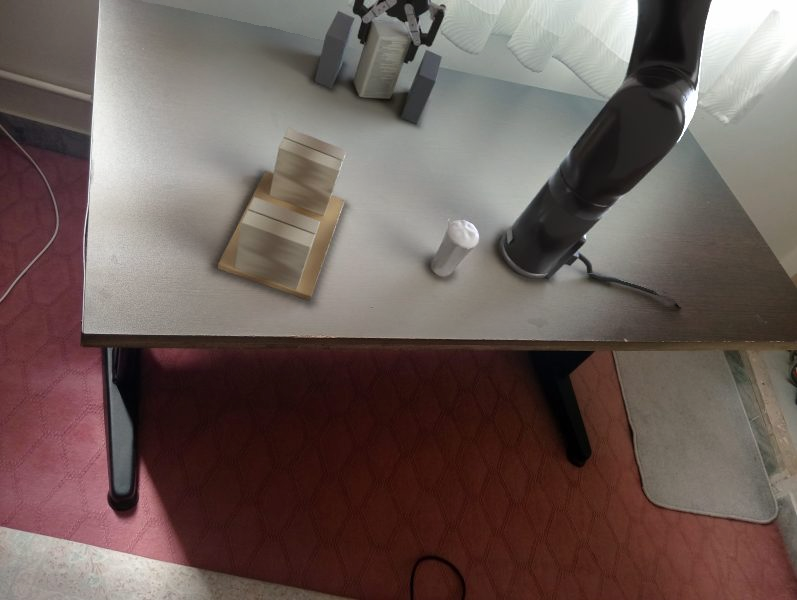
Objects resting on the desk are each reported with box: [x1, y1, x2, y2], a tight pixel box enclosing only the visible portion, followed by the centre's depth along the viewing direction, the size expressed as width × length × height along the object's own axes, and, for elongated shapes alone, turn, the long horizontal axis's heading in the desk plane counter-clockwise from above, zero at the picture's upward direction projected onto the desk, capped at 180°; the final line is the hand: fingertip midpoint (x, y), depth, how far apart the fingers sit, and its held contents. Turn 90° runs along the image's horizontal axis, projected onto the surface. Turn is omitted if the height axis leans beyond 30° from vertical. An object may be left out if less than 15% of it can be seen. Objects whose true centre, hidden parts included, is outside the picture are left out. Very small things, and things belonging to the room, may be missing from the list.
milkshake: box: [430, 218, 480, 278], centre depth 75 cm, size 5×5×10 cm
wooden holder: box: [217, 127, 348, 301], centre depth 69 cm, size 12×18×10 cm, turn 169°
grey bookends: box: [314, 10, 443, 125], centre depth 93 cm, size 19×8×9 cm, turn 79°
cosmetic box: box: [353, 18, 412, 100], centre depth 92 cm, size 6×4×12 cm
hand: (384, 51), depth 90 cm, fingers closed on cosmetic box, 7 cm apart
